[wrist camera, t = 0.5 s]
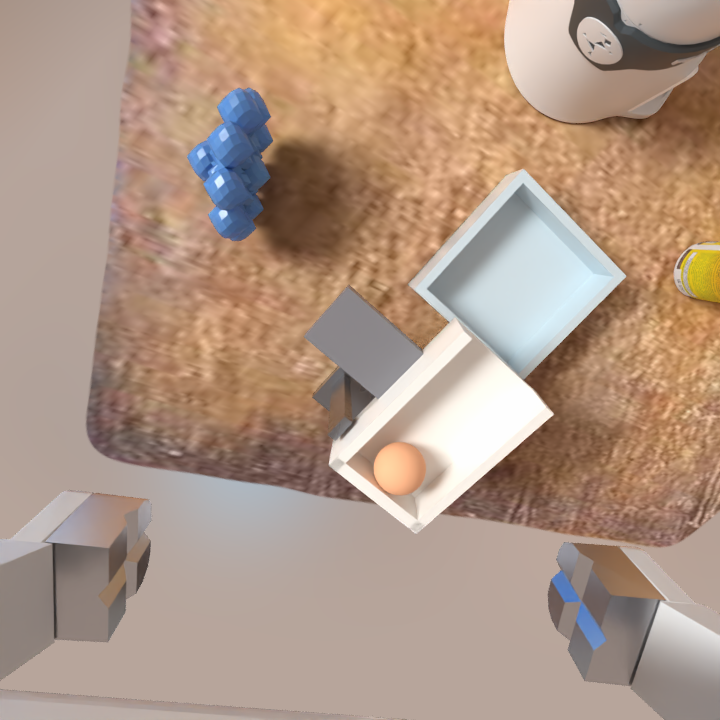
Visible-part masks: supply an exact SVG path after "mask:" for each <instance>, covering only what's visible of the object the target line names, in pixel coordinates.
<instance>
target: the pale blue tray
mask: <svg viewBox="0 0 720 720" xmlns="http://www.w3.org/2000/svg"><path fill="white" fill-rule="evenodd" d="M625 277H626V275H625V274H624V273H623V272H622V271H621V270H620V269H619V268H618V267H617V266H616V265H615V264H614V263H613V261H612V260H611V259H610V258H609V257H608V256H607V255H606V254H605V253H604V252H603V251H602V250H601V249H600V248H599V247H598V246H597V245H596V244H595V243H594V242H593V241H592V240H591V239H590V238H589V236H588V235H587V234H586V233H585V232H584V231H583V230H582V229H581V228H580V227H579V226H578V225H577V224H576V223H575V222H574V221H573V220H572V219H571V218H570V217H569V216H568V215H567V214H566V213H565V211H564V210H563V209H562V208H561V207H560V206H559V205H558V204H557V203H556V202H555V201H554V200H553V199H552V198H551V197H550V196H549V195H548V194H547V193H546V192H545V191H544V190H543V189H542V188H541V186H540V185H539V184H538V183H537V182H536V181H535V180H534V179H533V178H532V177H531V176H530V175H529V174H528V173H527V172H526V171H525V170H524V169H522V170H519V171H516V172H513V173H511V174H508V175H506V176H505V177H504V178H503V179H502V180H501V182H500V183H499V184H498V185H497V186H496V187H495V188H494V189H493V190H492V191H491V193H490V194H489V195H488V196H487V197H486V198H485V199H484V200H483V201H482V203H481V204H480V205H479V206H478V207H477V208H476V209H475V210H474V211H473V213H472V214H471V215H470V216H469V217H468V218H467V219H466V220H465V221H464V223H463V224H462V225H461V226H460V227H459V228H458V229H457V230H456V231H455V233H454V234H453V235H452V236H451V237H450V238H449V239H448V240H447V241H446V243H445V244H444V245H443V246H442V247H441V248H440V249H439V250H438V251H437V253H436V254H435V255H434V256H433V257H432V258H431V259H430V260H429V261H428V262H427V264H426V265H425V266H424V267H423V268H422V269H421V270H420V271H419V272H418V274H417V275H416V276H415V277H414V278H413V279H412V280H411V281H410V282H409V284H408V285H409V286H410V287H411V288H412V289H413V290H414V291H415V292H416V293H417V294H418V295H420V296H421V297H422V298H423V299H424V300H425V301H426V302H427V303H428V304H429V305H431V306H432V307H433V308H434V309H435V310H436V311H437V312H438V313H439V314H440V315H441V316H443V317H444V318H445V319H446V320H447V321H448V322H450V321H451V320H452V319H453V318H454V317H456V318H457V319H458V320H459V321H460V322H461V323H462V324H463V325H464V326H465V327H466V328H468V329H469V330H470V331H471V332H472V333H473V334H474V335H475V336H476V337H477V338H478V339H480V340H481V341H482V342H483V343H484V344H485V345H486V346H487V347H488V348H489V349H490V350H491V351H493V352H494V353H495V354H496V355H497V356H498V357H499V358H500V359H501V360H502V361H503V362H504V363H506V364H507V365H508V366H509V367H510V368H511V369H512V370H513V371H514V372H515V373H516V374H517V375H519V376H520V377H521V378H522V379H523V380H524V379H525V378H526V377H527V376H528V375H529V374H530V373H531V372H532V371H533V370H534V369H535V368H536V367H537V366H538V365H539V364H540V363H541V362H542V361H543V360H544V359H545V358H546V357H547V356H548V355H549V354H550V353H551V352H552V351H553V350H554V349H555V348H556V347H557V346H558V345H559V344H560V343H561V342H562V341H563V340H564V339H565V338H566V337H567V336H568V335H569V334H570V333H571V332H572V331H573V330H574V329H575V328H576V327H577V326H578V325H579V324H580V323H581V322H582V321H583V320H584V319H585V318H586V317H587V316H588V315H589V314H590V313H591V311H592V310H593V309H594V308H595V307H596V306H597V305H598V304H599V303H600V302H601V301H602V300H603V299H604V298H605V297H606V296H607V295H608V294H609V293H610V292H611V291H612V290H613V289H614V288H615V287H616V286H617V285H618V284H619V283H620V282H621V281H622V280H623V279H624V278H625Z"/></svg>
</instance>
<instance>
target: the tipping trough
mask: <svg viewBox="0 0 720 720" xmlns="http://www.w3.org/2000/svg"><path fill="white" fill-rule="evenodd" d="M304 337H305V338H306V339H307V340H308V341H310V342H311V343H312V344H313V345H314V346H315V347H317V348H318V349H319V350H320V351H321V352H323V353H324V354H325V355H326V356H327V357H329V358H330V359H331V360H332V361H333V362H334V363H336V364H337V365H338V366H339V367H340V368H342V369H343V370H344V371H345V372H346V373H348V374H349V375H350V376H351V377H352V378H354V379H355V380H356V381H357V382H358V383H359V384H361V385H362V386H363V387H364V388H365V389H367V390H368V391H369V392H370V393H371V394H373V395H374V396H375V398H374V399H373V400H372V401H371V402H370V403H369V404H368V405H367V406H366V407H365V408H364V409H363V410H362V411H361V412H360V413H359V414H358V415H357V416H356V417H355V418H354V419H353V420H352V424H351V425H350V426H349V427H348V428H347V429H346V430H345V431H344V433H343V434H342V435H341V436H340V437H339V438H338V439H337V440H336V441H335V440H333V444H332V450H331V455H330V461H329V466H330V467H331V468H333V469H334V470H335V471H336V472H338V473H339V474H340V475H341V476H343V477H344V478H345V479H347V480H348V481H349V482H350V483H352V484H353V485H354V486H355V487H357V488H358V489H359V490H361V491H362V492H363V493H364V494H366V495H367V496H368V497H369V498H371V499H372V500H373V501H375V502H376V503H377V504H378V505H380V506H381V507H382V508H384V509H385V510H386V511H387V512H389V513H390V514H391V515H392V516H394V517H395V518H396V519H397V520H399V521H400V522H401V523H403V524H404V525H405V526H406V527H408V528H409V529H410V530H411V531H413V532H414V533H415V534H417V533H418V532H419V531H420V530H421V529H423V528H424V527H425V526H426V525H427V524H428V523H429V522H430V521H432V520H433V519H434V518H435V517H436V516H438V515H439V514H440V513H441V512H442V511H443V510H444V509H446V508H447V507H448V506H449V505H450V504H451V503H452V502H454V501H455V500H456V499H457V498H458V497H459V496H461V495H462V494H463V493H464V492H465V491H466V490H467V489H469V488H470V487H471V486H472V485H473V484H474V483H475V482H477V481H478V480H479V479H480V478H481V477H482V476H484V475H485V474H486V473H487V472H488V471H489V470H490V469H492V468H493V467H494V466H495V465H496V464H497V463H498V462H500V461H501V460H502V459H503V458H504V457H505V456H507V455H508V454H509V453H510V452H511V451H512V450H513V449H515V448H516V447H517V446H518V445H519V444H520V443H521V442H523V441H524V440H525V439H526V438H527V437H528V436H529V435H531V434H532V433H533V432H534V431H535V430H536V429H538V428H539V427H540V426H541V425H542V424H543V423H544V422H546V421H547V420H548V419H549V418H550V417H551V416H552V415H554V413H553V412H552V411H551V410H550V408H549V407H548V406H547V405H546V403H545V402H544V401H543V400H542V398H541V397H540V396H539V394H538V393H537V392H536V391H535V390H534V389H533V388H532V387H531V386H529V385H528V384H527V383H526V382H525V381H524V380H523V379H522V378H521V377H520V376H519V375H517V374H516V373H515V372H514V371H513V370H512V369H511V368H510V367H509V366H508V365H507V364H506V363H504V362H503V361H502V360H501V359H500V358H499V357H498V356H497V355H496V354H495V353H494V352H493V351H491V350H490V349H489V348H488V347H487V346H486V345H485V344H484V343H483V342H482V341H481V340H480V339H478V338H477V337H476V336H475V335H474V334H473V333H472V332H471V331H470V330H469V329H468V328H466V327H465V326H464V325H463V324H462V323H461V322H460V321H459V320H458V319H457V318H456V317H454V318H453V319H452V320H451V321H450V322H449V323H448V325H447V326H446V327H445V328H444V329H443V330H442V331H441V332H440V333H439V334H438V335H437V336H436V337H435V338H434V339H433V340H432V341H431V342H430V343H429V344H428V345H427V346H426V347H425V348H424V349H423V350H422V349H421V348H420V347H418V346H417V345H416V344H415V343H414V342H413V341H412V340H411V339H409V338H408V337H407V336H406V335H405V334H404V333H403V332H402V331H400V330H399V329H398V328H397V327H396V326H395V325H394V324H393V323H391V322H390V321H389V320H388V319H387V318H386V317H385V316H384V315H382V314H381V313H380V312H379V311H378V310H377V309H376V308H375V307H373V306H372V305H371V304H370V303H369V302H368V301H367V300H365V299H364V298H363V297H362V296H361V295H360V294H359V293H358V292H356V291H355V290H354V289H353V288H352V287H351V286H350V285H348V286H347V287H346V288H345V290H344V291H343V292H342V293H341V294H340V295H339V296H338V297H337V299H336V300H335V301H334V302H333V303H332V304H331V305H330V306H329V308H328V309H327V310H326V311H325V312H324V313H323V314H322V315H321V317H320V318H319V319H318V320H317V321H316V322H315V323H314V324H313V326H312V327H311V328H310V329H309V330H308V331H307V332H306V334H305V336H304ZM394 442H405V443H408V444H410V445H412V446H414V447H415V448H417V449H418V450H419V451H420V453H421V454H422V456H423V458H424V460H425V464H426V474H425V478H424V481H423V482H422V484H421V486H420V487H419V488H418V489H417V490H415V491H414V492H412V493H410V494H407V495H393V494H390V493H388V492H387V491H385V490H384V489H383V488H382V487H381V486H380V485H379V484H378V482H377V480H376V478H375V475H374V462H375V459H376V456H377V454H378V453H379V452H380V450H381V449H382V448H384V447H385V446H387V445H388V444H391V443H394Z"/></svg>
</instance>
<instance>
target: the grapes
mask: <svg viewBox="0 0 720 720" xmlns="http://www.w3.org/2000/svg"><path fill="white" fill-rule="evenodd" d="M217 108H218V110H219V113H220V115H221V117H222V119H223V121H224V123H223V124H221V125H220V126H218V127H217V128H216V129H215V130H214V131H213V132H212V133H211V135H210V136H209V137H208V138H207V141H204V142H202V143H200V144H198V145H197V146H196V147H195V148H194V149H193V150H192V151H191V152H190V153H189V155H188V156H187V158H188V160H189V162H190V164H191V166H192V168H193V170H194V171H195V173H196V174H197V175H198V176H199V177H200V178H201V179H202V180H203V181H205V183H204V186H205V189H206V191H207V193H208V194H209V196H210V198H211V200H212V201H213V203H214V204H215V205H216V207H215V208H214V209H213V210H212V211H211V212H210V213H209V214H208V215H209V217H210V220H211V222H212V224H213V225H214V227H215V229H216V230H217V232H218V233H219V234H220V235H221V236H222V237H224V238H230V239H231V240H232V241H241V240H243V239H245V238H246V237H248V236H249V235H250V234H251V233H252V232H253V231H254V230H255V229H256V227H255V225H254V222H253V219H254V218H255V217H257V216H258V215H259V214H260V213H261V212H262V211H263V210H264V209H263V206H262V204H261V202H260V200H259V198H258V196H257V195H256V193H257V192H258V189H259V188H261V187H262V186H263V185H264V184H265V183H266V182H267V181H268V180H269V179H270V178H271V177H270V175H269V173H268V171H267V168H266V166H265V164H264V162H263V161H262V160H261V159H262V158H263V157H262V155H261V152H263V151H264V150H265V149H266V148H267V147H268V146H269V145H270V144H271V143H272V142H273V139H272V137H271V135H270V133H269V131H268V128H267V126H266V125H265V123H266V122H267V121H268V120H269V118H270V117H271V116H270V114H269V111H268V109H267V107H266V105H265V103H264V100H263V99H262V98H261V96H260V95H259V93H258V92H256V91H255V90H253V89H251V88H247V89H245V90H243V89H241V88H238V89H236V90H233V91H231V92H230V93H229V94H228V95H227V96H226V97H225V98H224V99H223V100H222V101H221V102H220V104H219V105H218V106H217Z"/></svg>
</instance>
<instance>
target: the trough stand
mask: <svg viewBox="0 0 720 720" xmlns="http://www.w3.org/2000/svg"><path fill="white" fill-rule="evenodd" d="M312 398H314V399H315V400H316V401H317V402H319V403H320V404H321V405H322V406H323V407H325V408H326V409H327V410H328V411H329V424H328V436H330V437H331V438H332V439H333V440H335V441H336V440H337V439H338V438H339V437H340V436H341V435H342V434H343V433H344V431H345V430H346V429H347V428H348V427H349V426H350V425H351V424H352V420H353V419H354V418H355V417H356V416H357V415H358V414H359V413H360V412H361V411H362V410H363V409H364V408H365V407H366V406H367V405H368V404H369V403H370V402H371V401H372V400H373V399H374V398H375V396H374V395H373V394H371V393H370V392H369V391H368V390H367V389H365V388H364V387H363V386H362V385H361V384H359V383H358V382H357V381H356V380H355V379H354V378H352V377H351V376H350V375H349V374H348V373H346V372H345V371H344V370H343V369H342V368H340V367H339V366H338V367H337V368H336V369H335V370H334V371H333V372H332V373H331V374H330V376H329V377H328V378H327V379H326V380H325V381H324V382H323V383H322V384H321V385H320V387H319V388H318V389H317V390H316V391H315V392H314V393H313V397H312ZM436 517H437V516H436ZM436 517H435V518H436ZM435 518H434V519H435Z"/></svg>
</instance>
